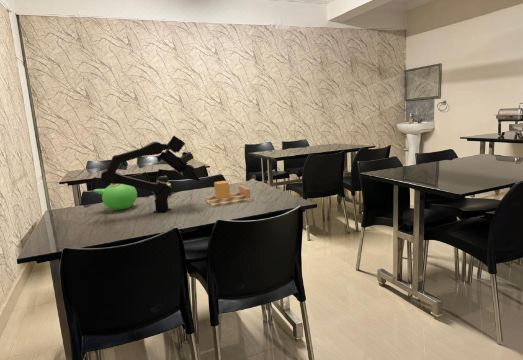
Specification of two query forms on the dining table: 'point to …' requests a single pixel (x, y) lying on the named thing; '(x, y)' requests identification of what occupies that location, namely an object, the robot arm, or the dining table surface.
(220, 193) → the orange block
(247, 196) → the stop band
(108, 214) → the dining table surface
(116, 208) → the green teapot
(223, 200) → the checkered wooden board
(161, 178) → the medicine bottle
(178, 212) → the dining table surface
